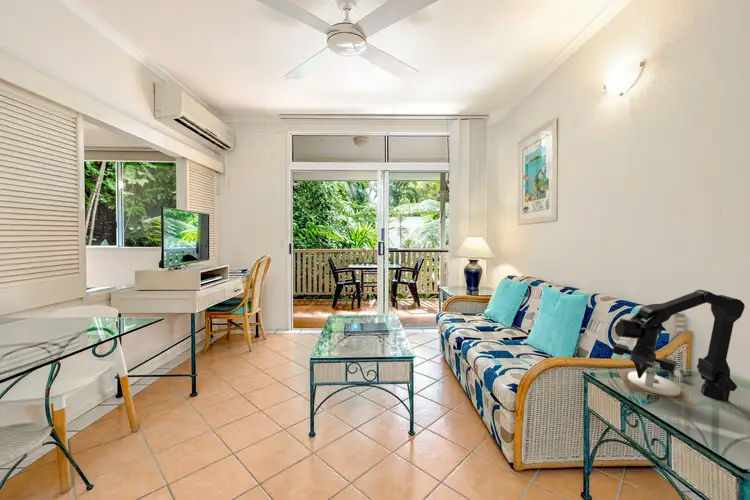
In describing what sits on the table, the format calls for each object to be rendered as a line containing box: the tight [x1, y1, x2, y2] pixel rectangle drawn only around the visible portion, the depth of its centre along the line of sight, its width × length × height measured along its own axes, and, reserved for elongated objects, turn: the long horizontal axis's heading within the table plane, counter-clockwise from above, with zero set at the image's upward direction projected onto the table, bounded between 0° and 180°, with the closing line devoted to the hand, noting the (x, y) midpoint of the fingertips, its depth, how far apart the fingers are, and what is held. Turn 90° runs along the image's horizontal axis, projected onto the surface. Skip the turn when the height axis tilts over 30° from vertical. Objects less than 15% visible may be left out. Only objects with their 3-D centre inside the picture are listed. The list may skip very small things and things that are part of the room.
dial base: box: [617, 369, 696, 406], centre depth 132 cm, size 20×19×2 cm
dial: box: [628, 370, 682, 396], centre depth 131 cm, size 16×16×7 cm
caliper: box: [673, 368, 685, 383], centre depth 146 cm, size 20×1×6 cm, turn 156°
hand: (639, 378), depth 130 cm, fingers closed
